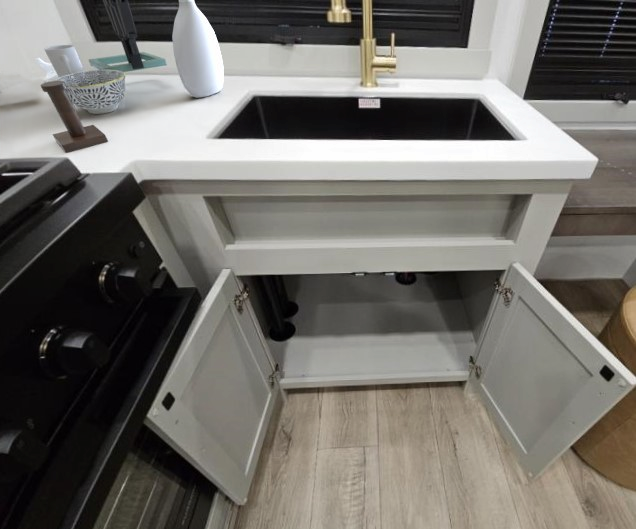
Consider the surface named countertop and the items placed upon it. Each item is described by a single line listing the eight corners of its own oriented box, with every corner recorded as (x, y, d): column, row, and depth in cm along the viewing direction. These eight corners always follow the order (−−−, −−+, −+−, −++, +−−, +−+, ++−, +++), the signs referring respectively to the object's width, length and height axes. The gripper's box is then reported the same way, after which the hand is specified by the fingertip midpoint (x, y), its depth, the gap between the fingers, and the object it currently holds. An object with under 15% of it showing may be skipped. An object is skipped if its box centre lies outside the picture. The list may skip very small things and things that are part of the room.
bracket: (56, 83, 108) (36, 58, 102) (76, 74, 109) (58, 49, 104) (54, 92, 100) (32, 66, 94) (76, 83, 101) (55, 56, 95)
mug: (68, 96, 93) (43, 46, 85) (94, 92, 96) (72, 43, 88) (70, 105, 87) (44, 52, 79) (98, 100, 90) (75, 49, 82)
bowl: (103, 123, 76) (88, 88, 71) (53, 117, 80) (34, 83, 75) (149, 103, 87) (138, 71, 82) (103, 98, 91) (90, 67, 86)
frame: (90, 65, 95) (88, 59, 94) (145, 57, 103) (143, 51, 102) (108, 74, 86) (105, 67, 85) (166, 65, 94) (165, 58, 93)
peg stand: (56, 141, 69) (23, 83, 61) (96, 131, 73) (70, 76, 65) (65, 152, 64) (32, 92, 57) (108, 141, 68) (81, 83, 61)
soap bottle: (215, 85, 99) (190, -34, 81) (233, 89, 96) (212, -34, 78) (175, 97, 91) (138, -33, 73) (194, 102, 87) (160, -34, 69)
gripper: (126, -52, 72) (161, 69, 88) (105, -50, 80) (140, 61, 96) (89, -53, 68) (133, 74, 84) (71, -50, 76) (114, 65, 92)
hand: (137, 67), depth 90 cm, fingers closed on frame, 2 cm apart
